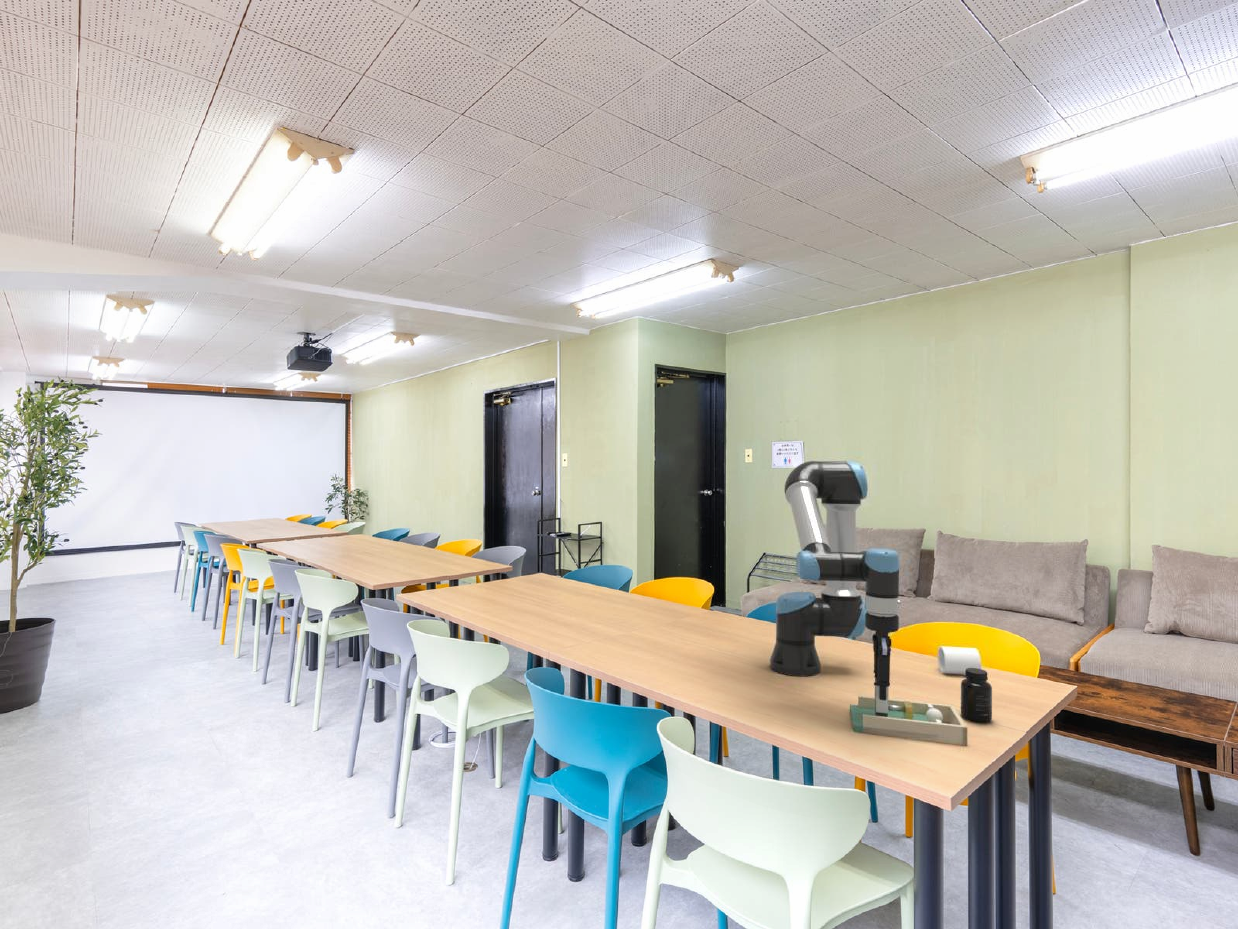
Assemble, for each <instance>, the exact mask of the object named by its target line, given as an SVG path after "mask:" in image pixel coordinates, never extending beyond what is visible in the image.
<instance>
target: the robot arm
mask: <svg viewBox="0 0 1238 929" xmlns="http://www.w3.org/2000/svg"><path fill="white" fill-rule="evenodd" d="M868 489H869V488H868V479H867V475H866V472H865V470H864V467H863V466H862V465H861V463H859V462H857V461H846V460H843V461H842V460H840V461H838V460H837V461H836V460H833V461H830V460H827V461H824V460H819V461H817V460H809V461H805V462H803V463H801V464H799V465H798V466H796V467H794V468H793V470H791V471H790V473H789V475H788V476H787V477H786V481H785V483H784V495H785V499H786V501H787V503H788V504H789V505H790V507H791V511H792V515H793V520H794V525H795V529H796V532H797V537H798V540H799V541H798V542H799V546H800V551H798V552H797V554H796V560H795V564H796V565H795V567H796V574H797V576H798V578H799V579H800V580H802V581H803V580H804V581H812V582H813V581H815V582H817V581H818V582H819V581H820V582H821V581H822V582H823V581H825V583H826V586H825V587H824V588H823V589H822V590H821V592H820V597H816V595H815V593H814V592H810V591H793V592H792V591H791V592H786V593H783V594H781V595H779V596H778V597H777V599H776V605H775V606H776V607H775V617H776V618H775V619H776V620H775V622H776V623H775V644H774V648H773V650H772V654H771V657H770V659H769V664H770V665H769V667H770V669H772V670H773V671H775V672H777V673H780V674H783V675H788V676H795V677H808V676H816V675H819V674H820V673H821V667H822V666H821V660H820V658H819V654H818V651H817V649H816V648H817V647H816V645H815V644H816V643H815V638H816V637H835V638H836V637H837V638H838V637H842V638H846V639H847V638H857V637H861V636H862V635H863V634H864V632H865V631H866V629H867V630H870V631H872V632H874V633H873V634H872V637H871V638H872V639H871V640H872V642H873V646H872V650H873V674H874V678H875V677H877V683H876V682H875V681H873V686H875V685H876V712H880V713H888V699H889V688H890V687H891V686H890V685H891V683H890V681H891V680H890V678H891V677H890V676H891V675H890V674H891V673H890V672H891V651H892V639H891V636H889V634H890V633H896V632H898V631H899V628H900V627H899V626H900V625H899V624H900V623H899V622H900V621H899V620H900V618H899V616H898V614H899V606H900V605H902V601H901V600H899V599H900V598H899V596H900V595H899V594H900V568H901V565H900V558H899V552H898V551H897V550H893V549H887V548H869V549H867V550H861V551H857V552H856V550H857V549H856V548H857V546H856V545H857V544H856V543H857V541H856V535H857V534H856V531H857V530H856V529H857V528H856V527H857V526H856V517H857V514H856V511H857V509H858V508H859V507H861V506H862V500H864V499H866V498H867V497H868V492H869V490H868ZM818 499H821V505H822V507H823V508H824V509H825V511H826V515H825V516H826V518H825V519H826V527H825V524H824V521H823V517H822V514H821V510H820V507H819V503H818ZM825 528H826V529H825ZM856 582H857V583H858V582H859V583H860V582H861V583H862V582H863V583H864V582H865V594H864V596H865V598H862V593H861V592H860V591H859V590H858V589H857V586H856V585H857V583H856Z"/></svg>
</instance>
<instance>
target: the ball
mask: <svg viewBox="0 0 1238 929" xmlns="http://www.w3.org/2000/svg"><path fill="white" fill-rule="evenodd" d="M926 718H927V720H928V721H929V722H935V719H937V720H941V722H942V720H943V716H942V713H941V712H940V711H939V710H937V709H934V708H932V709H929V710H928V711H927V712H926ZM942 723H943V722H942Z"/></svg>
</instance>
